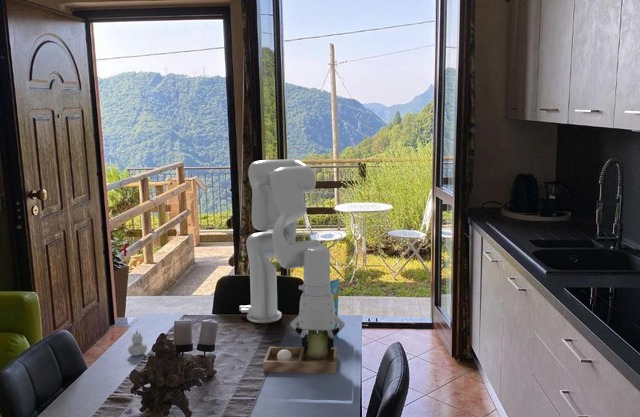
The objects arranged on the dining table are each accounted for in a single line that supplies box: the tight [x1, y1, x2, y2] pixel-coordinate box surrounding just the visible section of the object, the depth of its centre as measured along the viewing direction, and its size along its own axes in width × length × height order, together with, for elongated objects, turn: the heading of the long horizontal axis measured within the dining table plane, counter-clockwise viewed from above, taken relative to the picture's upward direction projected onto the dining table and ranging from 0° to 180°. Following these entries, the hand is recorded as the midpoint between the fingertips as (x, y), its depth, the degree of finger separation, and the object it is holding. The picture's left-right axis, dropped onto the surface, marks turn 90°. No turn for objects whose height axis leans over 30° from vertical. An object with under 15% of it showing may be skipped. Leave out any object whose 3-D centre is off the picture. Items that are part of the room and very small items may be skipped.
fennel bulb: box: [307, 330, 328, 361], centre depth 159 cm, size 6×5×12 cm
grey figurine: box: [128, 330, 148, 357], centre depth 169 cm, size 5×7×8 cm
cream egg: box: [277, 349, 292, 361], centre depth 161 cm, size 4×4×4 cm
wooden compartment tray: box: [262, 346, 338, 375], centre depth 161 cm, size 20×11×4 cm, turn 86°
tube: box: [328, 278, 340, 340], centre depth 182 cm, size 7×5×19 cm, turn 134°
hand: (317, 348), depth 160 cm, fingers closed on fennel bulb, 6 cm apart
